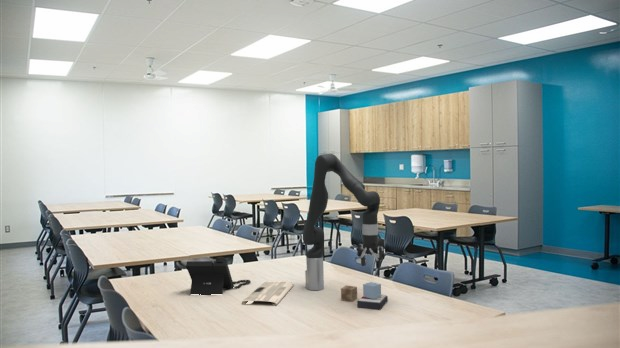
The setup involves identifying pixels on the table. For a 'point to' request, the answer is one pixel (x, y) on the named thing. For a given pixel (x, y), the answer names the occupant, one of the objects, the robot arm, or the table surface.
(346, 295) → the walnut block
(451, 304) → the table surface
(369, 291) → the slate block
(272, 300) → the newspaper
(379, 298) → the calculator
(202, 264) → the office phone
